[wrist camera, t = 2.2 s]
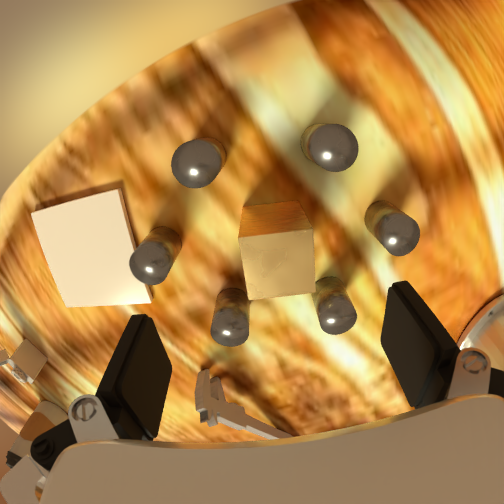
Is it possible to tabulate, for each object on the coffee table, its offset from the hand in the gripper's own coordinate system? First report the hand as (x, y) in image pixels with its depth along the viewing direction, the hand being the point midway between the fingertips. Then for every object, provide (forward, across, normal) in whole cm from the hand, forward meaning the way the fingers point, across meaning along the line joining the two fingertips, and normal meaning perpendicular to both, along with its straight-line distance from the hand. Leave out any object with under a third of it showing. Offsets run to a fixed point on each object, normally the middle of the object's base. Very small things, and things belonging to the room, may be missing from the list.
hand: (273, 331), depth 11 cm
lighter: (+13, +32, +12) cm, 36 cm away
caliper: (+12, +3, +24) cm, 27 cm away
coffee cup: (+13, +38, +28) cm, 49 cm away
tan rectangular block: (+12, -1, +1) cm, 12 cm away
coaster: (+12, +15, +1) cm, 19 cm away
